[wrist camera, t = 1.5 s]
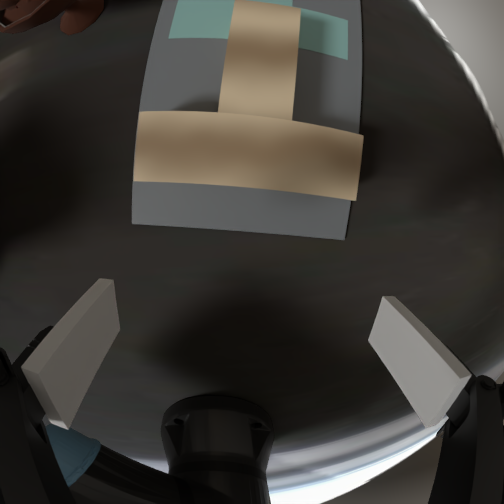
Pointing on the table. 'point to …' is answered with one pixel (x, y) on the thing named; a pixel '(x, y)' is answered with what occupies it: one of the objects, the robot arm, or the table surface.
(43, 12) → the ice cream bowl
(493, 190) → the table surface
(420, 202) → the table surface
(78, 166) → the table surface
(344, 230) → the push board
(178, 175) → the t block
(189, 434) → the robot arm
